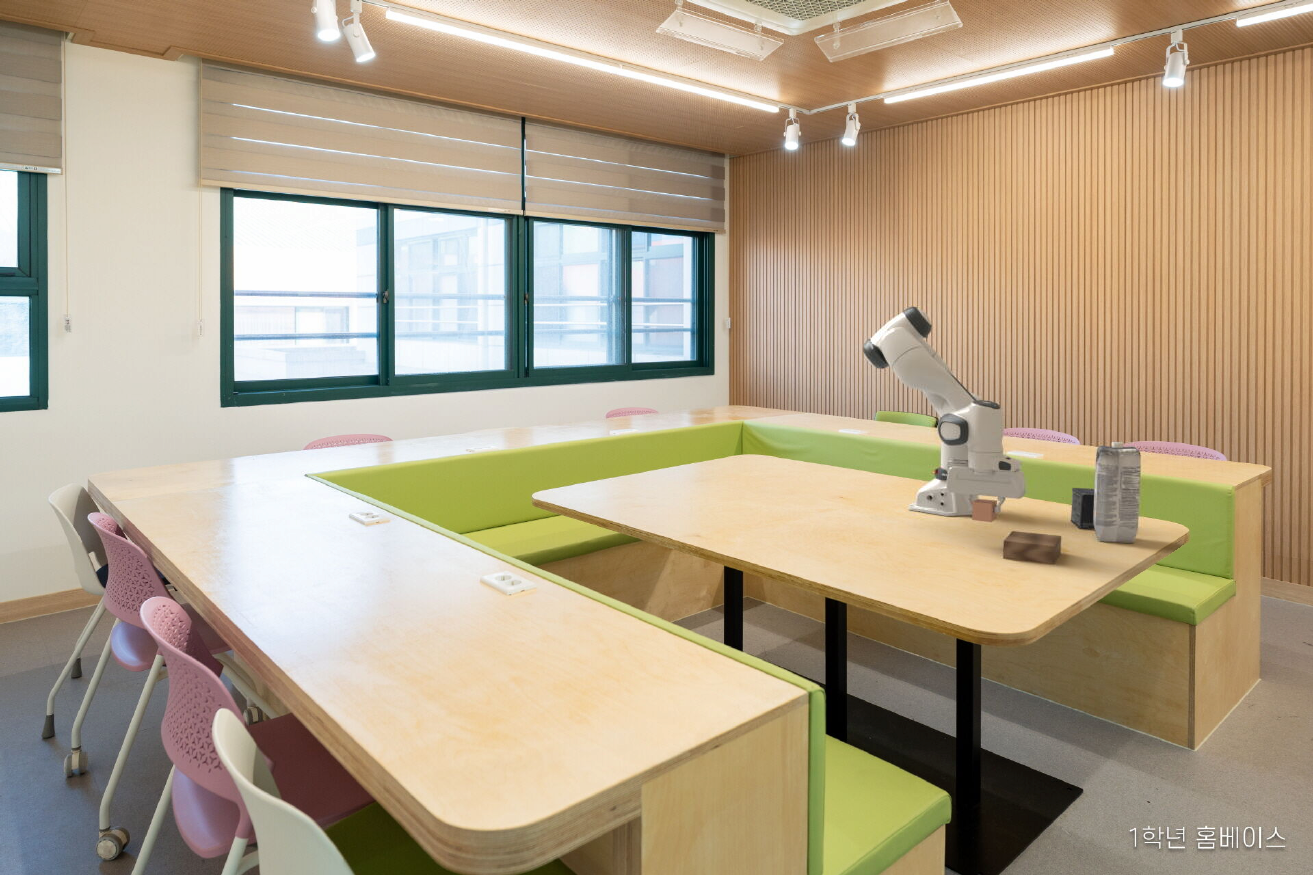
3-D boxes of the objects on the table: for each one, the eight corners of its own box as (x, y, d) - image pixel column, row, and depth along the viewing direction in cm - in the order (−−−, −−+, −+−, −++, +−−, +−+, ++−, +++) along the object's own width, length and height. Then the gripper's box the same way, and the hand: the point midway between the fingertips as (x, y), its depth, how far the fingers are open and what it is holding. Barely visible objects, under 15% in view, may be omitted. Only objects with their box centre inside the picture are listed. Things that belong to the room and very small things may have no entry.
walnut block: (1003, 559, 222) (1003, 540, 221) (1011, 549, 232) (1012, 530, 231) (1053, 565, 215) (1054, 546, 215) (1060, 554, 226) (1061, 535, 225)
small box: (1103, 530, 249) (1105, 494, 248) (1079, 529, 250) (1081, 494, 249) (1093, 521, 259) (1094, 487, 258) (1069, 521, 260) (1071, 487, 259)
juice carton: (1138, 544, 232) (1143, 445, 228) (1095, 542, 235) (1098, 444, 232) (1133, 537, 240) (1138, 441, 236) (1091, 534, 244) (1095, 440, 240)
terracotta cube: (972, 520, 233) (972, 501, 233) (977, 516, 237) (978, 498, 236) (991, 522, 230) (991, 503, 229) (996, 518, 234) (997, 500, 233)
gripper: (943, 460, 235) (942, 509, 237) (1021, 465, 223) (1020, 517, 225) (950, 456, 240) (950, 505, 242) (1028, 462, 228) (1026, 513, 230)
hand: (984, 511), depth 233 cm, fingers closed on terracotta cube, 5 cm apart
